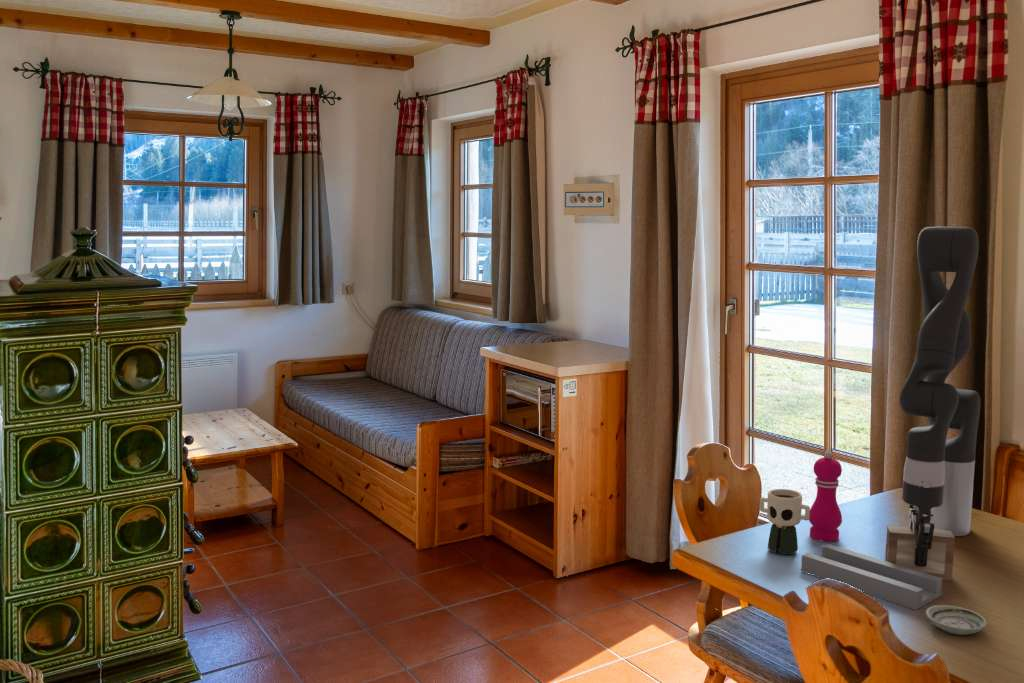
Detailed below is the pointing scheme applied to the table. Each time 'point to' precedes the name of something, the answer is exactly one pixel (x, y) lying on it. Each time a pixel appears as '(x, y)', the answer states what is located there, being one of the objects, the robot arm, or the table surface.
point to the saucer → (956, 619)
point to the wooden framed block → (903, 551)
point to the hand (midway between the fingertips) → (918, 561)
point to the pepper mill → (826, 500)
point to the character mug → (784, 518)
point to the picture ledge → (874, 576)
